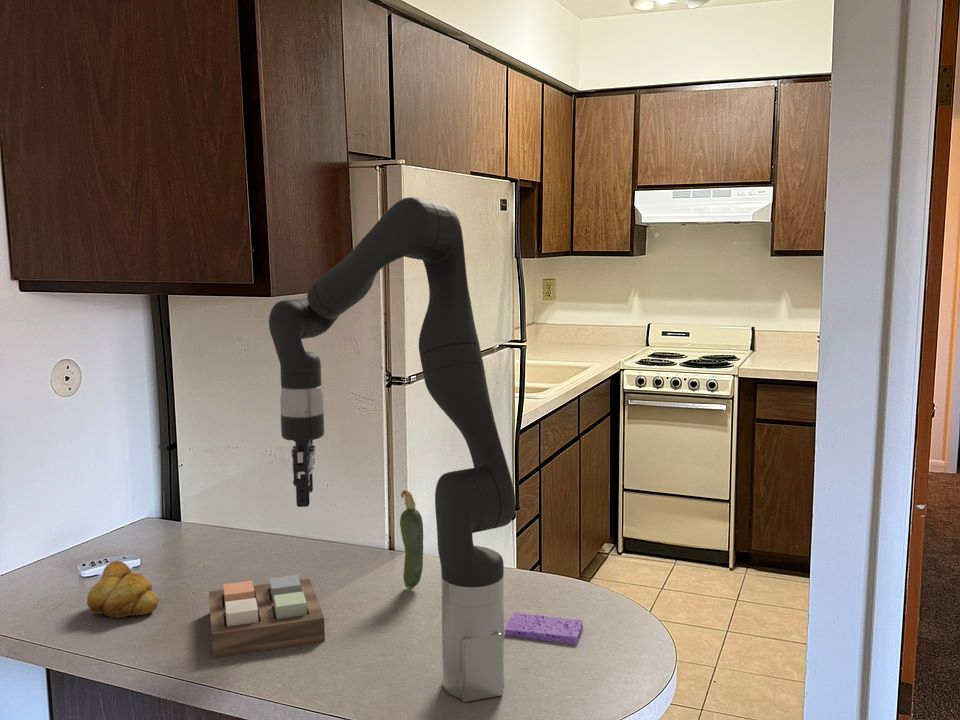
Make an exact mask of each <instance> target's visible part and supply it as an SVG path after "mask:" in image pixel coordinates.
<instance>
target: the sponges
mask: <svg viewBox="0 0 960 720" xmlns="http://www.w3.org/2000/svg"><path fill="white" fill-rule="evenodd" d="M583 624H584V619H578V618H567V617H565V618H562V617H558V616H550V615H543V614H533V613H526V612H520V611H514V612H513V613H512V615H511V617H510V619H509V622H508V624H507V625H506V627H504V629H505V630H504V636H505V635H506V637H514V636H516V638H523V637H524V638H523V639H529V638H533V639H532V640H537V639H541V640H540V641H545V640H549V641H548V642H553V641H556V642H555V643H559V642H562V643H561V644H567V643H572V644H571V645H575V644H576V645H577V644H578V642H579V639H580V636H581V634H580V633H582V631H581V630H583V628H582V627H584V625H583ZM577 641H578V642H577ZM563 642H564V643H563Z"/></svg>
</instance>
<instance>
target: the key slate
mask: <svg viewBox="0 0 960 720" xmlns="http://www.w3.org/2000/svg"><path fill="white" fill-rule="evenodd" d="M299 580H300V577H299V575H298V574H292V575H285V576H279V577H278V576H276V577H270V578H269V584H270V596H271V600H272V601H273V600H274V595H280V594H287V593H295V592H301V584H300V581H299Z"/></svg>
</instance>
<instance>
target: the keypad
mask: <svg viewBox="0 0 960 720" xmlns="http://www.w3.org/2000/svg"><path fill="white" fill-rule="evenodd" d="M299 581H300V584H301V592H302V591H303V593H304V596H305V599H306V602H307V615H304V616H297V617H290V618H283V619H276V617H275V613H274V600H273V601H272V600H271V596H270V583H264V584H256V585H253V586H254V594H255V598H256V602H257V608H258V622H255V623H248V624H241V625H234V626H227V623H226V607H225V603H224V589H219V590H211V591H208V598H209V601H208V602H209V617H210V632H211V633H210V634H211V649H212V652H211V654H212V658H213V659H214V658H220V657H228V656H233V655H235V656H236V655H240V654H241V655H242V654H246V653H253V652H258V651H259V652H260V651H267V650H271V649H278V648H279V649H280V648H287V647H292V646H297V645H304V644H312V643H318V642H325V641H326V633H325V631H326V630H325V616H324V614H323V611H322V609H321V605H320V603H319V600H318V597H317V594H316V592H315V589H314V586H313V583H312V581H311V578H303V579H302V578H301V579H299Z"/></svg>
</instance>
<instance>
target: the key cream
mask: <svg viewBox="0 0 960 720" xmlns="http://www.w3.org/2000/svg"><path fill="white" fill-rule="evenodd" d="M225 607H226V623H227V626H234V625H241V624H248V623H255V622H258V608H257V602H256V598H251V599H243V600H236V601H228V602H225Z"/></svg>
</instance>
